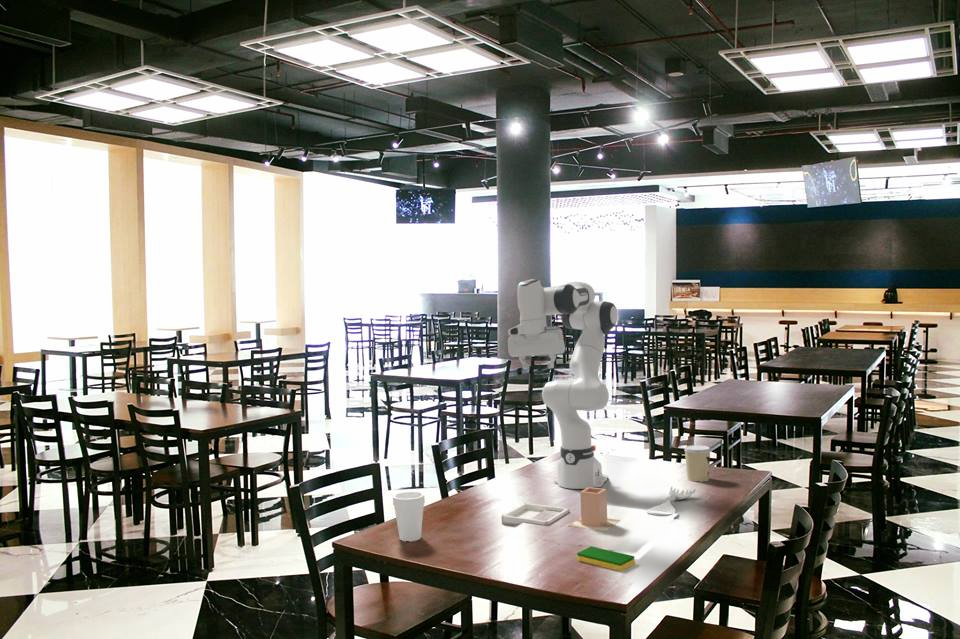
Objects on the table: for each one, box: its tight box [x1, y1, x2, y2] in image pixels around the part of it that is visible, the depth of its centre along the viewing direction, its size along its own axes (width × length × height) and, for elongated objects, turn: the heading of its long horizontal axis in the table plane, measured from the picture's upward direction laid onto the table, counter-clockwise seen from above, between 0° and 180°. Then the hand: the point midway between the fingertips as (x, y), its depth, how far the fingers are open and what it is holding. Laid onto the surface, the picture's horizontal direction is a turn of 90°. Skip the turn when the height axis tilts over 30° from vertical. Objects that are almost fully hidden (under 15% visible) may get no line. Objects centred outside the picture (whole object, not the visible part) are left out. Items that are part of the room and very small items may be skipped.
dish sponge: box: [576, 546, 635, 572], centre depth 206 cm, size 7×14×2 cm, turn 48°
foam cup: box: [392, 490, 426, 542], centre depth 232 cm, size 10×9×13 cm
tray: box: [501, 502, 570, 527], centre depth 246 cm, size 16×16×2 cm
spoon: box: [645, 485, 696, 517], centre depth 255 cm, size 9×32×4 cm, turn 150°
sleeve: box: [580, 487, 608, 527], centre depth 236 cm, size 6×6×10 cm
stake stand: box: [568, 517, 621, 532], centre depth 236 cm, size 12×12×8 cm
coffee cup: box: [684, 444, 711, 483], centre depth 290 cm, size 9×9×12 cm
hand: (538, 368), depth 260 cm, fingers open, 8 cm apart
